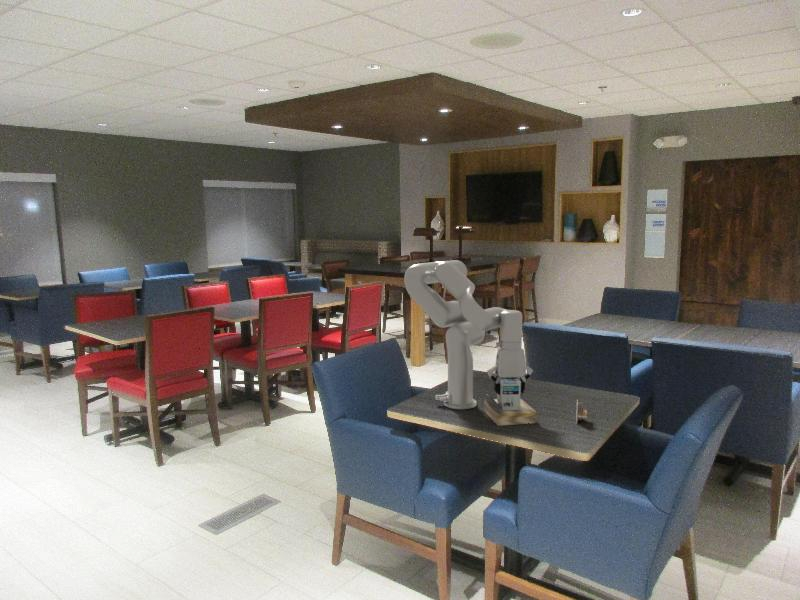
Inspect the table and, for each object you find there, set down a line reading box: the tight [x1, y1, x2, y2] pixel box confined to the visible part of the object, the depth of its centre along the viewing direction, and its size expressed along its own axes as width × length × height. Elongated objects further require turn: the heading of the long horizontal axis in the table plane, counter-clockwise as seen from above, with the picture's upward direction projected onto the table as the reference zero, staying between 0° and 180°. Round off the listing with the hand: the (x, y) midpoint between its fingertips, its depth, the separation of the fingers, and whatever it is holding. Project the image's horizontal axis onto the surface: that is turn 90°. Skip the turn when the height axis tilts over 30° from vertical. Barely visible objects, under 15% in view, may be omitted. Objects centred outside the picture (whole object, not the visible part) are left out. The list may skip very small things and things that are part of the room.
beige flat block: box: [483, 393, 538, 426], centre depth 211 cm, size 14×16×6 cm
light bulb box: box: [496, 377, 522, 410], centre depth 210 cm, size 11×7×11 cm, turn 1°
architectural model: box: [575, 399, 588, 424], centre depth 205 cm, size 3×7×7 cm, turn 165°
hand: (509, 392), depth 210 cm, fingers open, 8 cm apart
